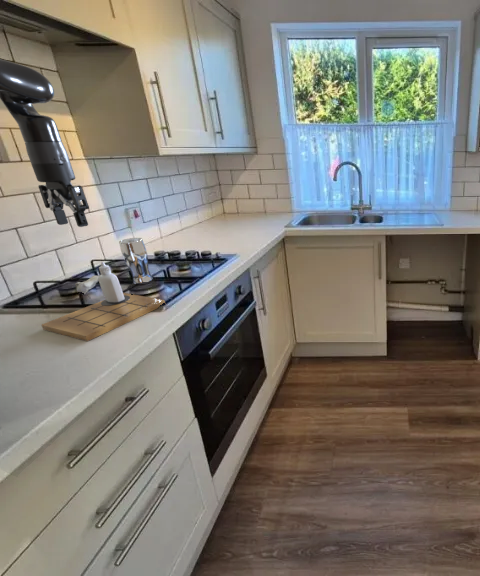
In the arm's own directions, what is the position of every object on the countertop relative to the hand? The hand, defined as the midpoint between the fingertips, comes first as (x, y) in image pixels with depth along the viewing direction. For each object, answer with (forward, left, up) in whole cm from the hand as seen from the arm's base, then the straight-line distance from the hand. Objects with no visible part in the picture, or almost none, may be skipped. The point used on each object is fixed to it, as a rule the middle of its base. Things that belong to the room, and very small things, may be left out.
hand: (73, 225), depth 97 cm
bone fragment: (+9, +20, -25) cm, 33 cm away
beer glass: (+19, +8, -25) cm, 32 cm away
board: (-3, -7, -25) cm, 26 cm away
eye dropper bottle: (+3, -2, -24) cm, 24 cm away
